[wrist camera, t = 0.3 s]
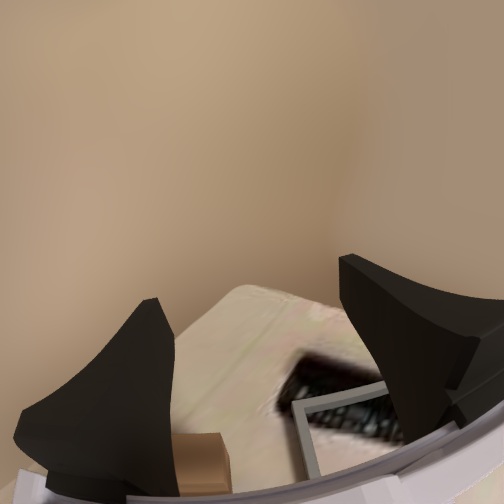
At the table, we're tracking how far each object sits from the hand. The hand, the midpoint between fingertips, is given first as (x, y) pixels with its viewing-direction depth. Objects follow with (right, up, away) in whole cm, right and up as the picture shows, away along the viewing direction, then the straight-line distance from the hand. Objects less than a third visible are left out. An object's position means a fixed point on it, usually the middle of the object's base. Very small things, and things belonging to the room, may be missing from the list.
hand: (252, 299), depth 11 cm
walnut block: (-4, -19, +9) cm, 21 cm away
